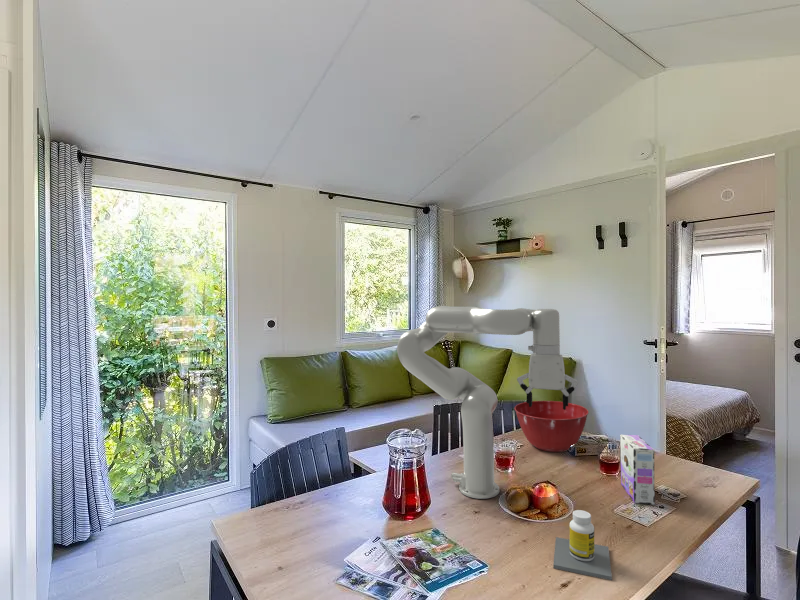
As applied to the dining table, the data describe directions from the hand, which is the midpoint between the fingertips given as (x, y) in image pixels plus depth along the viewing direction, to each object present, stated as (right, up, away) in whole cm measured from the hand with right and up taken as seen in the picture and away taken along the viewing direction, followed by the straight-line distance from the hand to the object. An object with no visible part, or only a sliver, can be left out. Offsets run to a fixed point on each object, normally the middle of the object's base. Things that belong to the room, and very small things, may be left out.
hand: (547, 407), depth 130 cm
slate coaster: (-1, -29, -28) cm, 40 cm away
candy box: (+29, -28, +4) cm, 40 cm away
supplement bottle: (-1, -28, -28) cm, 40 cm away
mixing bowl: (+17, -28, +46) cm, 57 cm away
